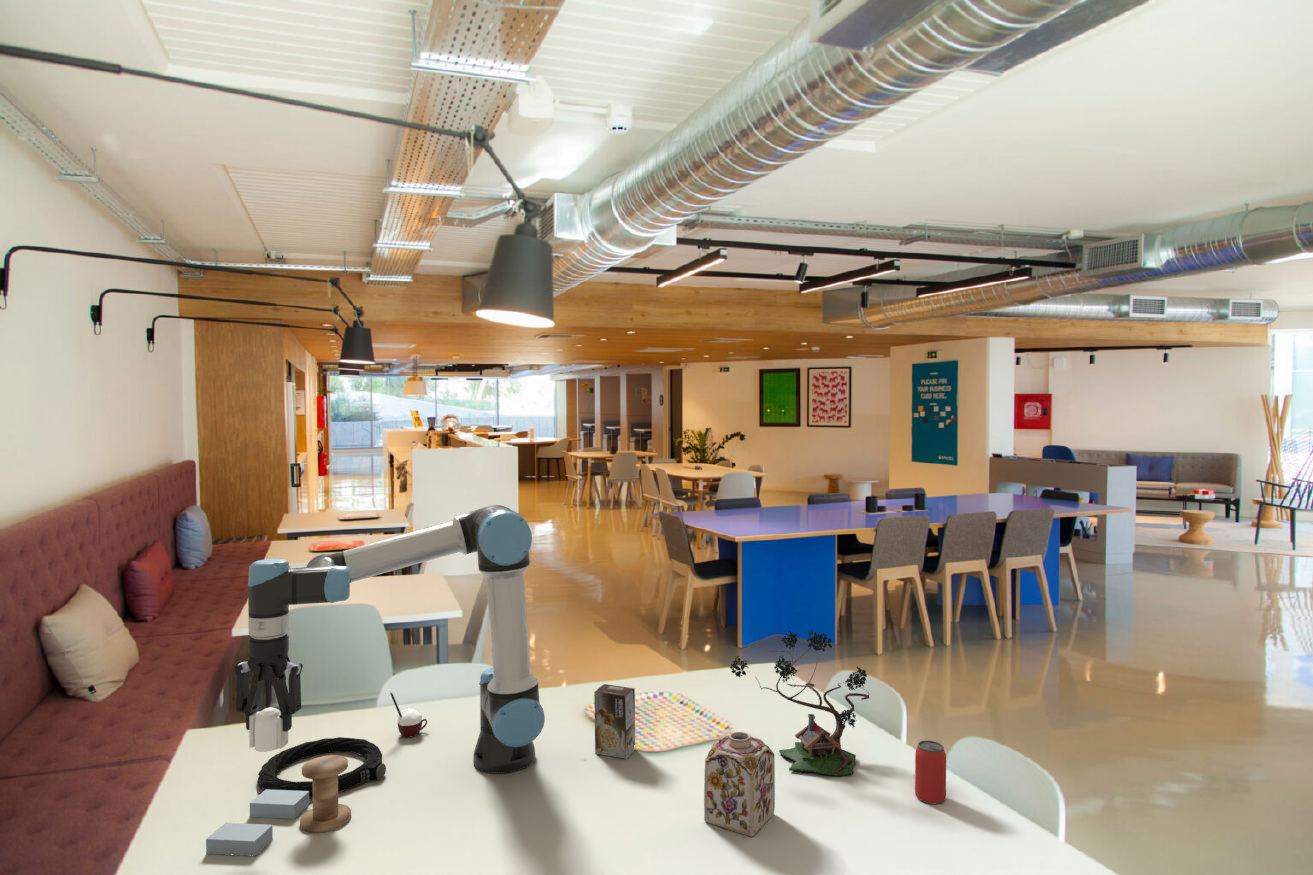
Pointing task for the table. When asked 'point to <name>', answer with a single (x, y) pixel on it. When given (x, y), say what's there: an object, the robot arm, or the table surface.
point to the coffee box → (614, 721)
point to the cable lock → (327, 745)
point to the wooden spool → (325, 795)
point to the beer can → (930, 772)
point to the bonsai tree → (816, 742)
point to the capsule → (266, 730)
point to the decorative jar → (739, 783)
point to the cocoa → (409, 721)
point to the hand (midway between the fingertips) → (268, 744)
